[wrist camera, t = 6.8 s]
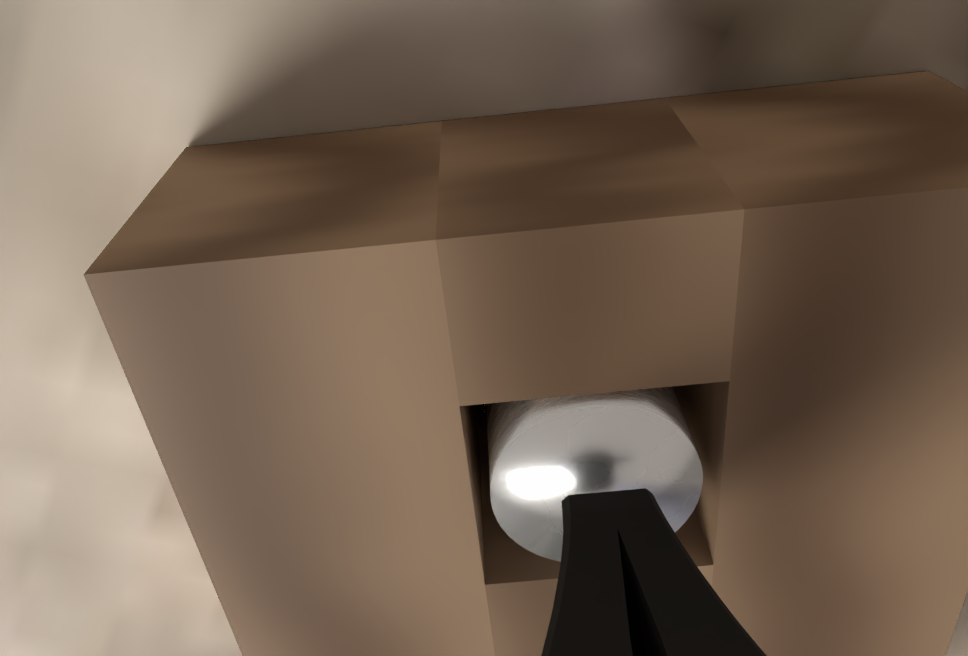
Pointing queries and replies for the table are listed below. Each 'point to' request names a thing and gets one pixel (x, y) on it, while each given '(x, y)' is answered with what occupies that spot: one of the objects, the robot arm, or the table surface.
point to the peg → (587, 458)
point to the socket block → (565, 357)
